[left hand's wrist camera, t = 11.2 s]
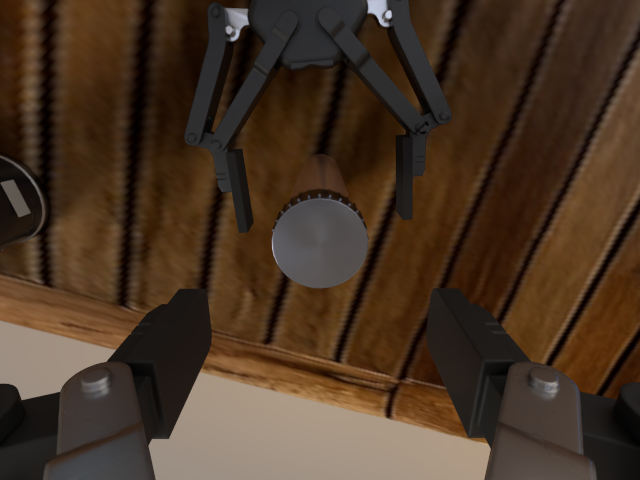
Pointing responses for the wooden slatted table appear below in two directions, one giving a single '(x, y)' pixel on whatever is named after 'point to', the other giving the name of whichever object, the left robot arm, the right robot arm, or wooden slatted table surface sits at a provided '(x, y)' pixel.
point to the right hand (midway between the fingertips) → (324, 221)
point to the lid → (319, 238)
